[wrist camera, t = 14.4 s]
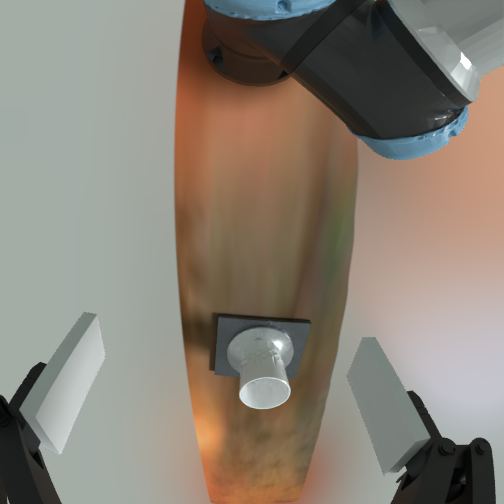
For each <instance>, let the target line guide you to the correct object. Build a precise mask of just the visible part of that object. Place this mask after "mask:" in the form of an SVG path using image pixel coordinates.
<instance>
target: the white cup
mask: <svg viewBox="0 0 504 504" xmlns="http://www.w3.org/2000/svg"><path fill="white" fill-rule="evenodd" d="M289 395H290V387H289V383H288V379H287V375H286V371H285V367H284V364H283V360H282V358H281V355H280V351H279V348H278V347H277V346H276V345H275V344H274V343H273V342H270V341H268V340H256V341H254V342H251V343H249V344H248V345H247V346H246V347H245V348H244V350H243V353H242V362H241V371H240V391H239V396H240V399H241V401H242V402H243V403H244V404H246V405H247V406H249V407H252V408H257V409H269V408H273V407H276V406H279V405H281V404H282V403H284V402H285V401H286V400H287V399H288V397H289Z"/></svg>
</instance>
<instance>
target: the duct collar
mask: <svg viewBox="0 0 504 504" xmlns="http://www.w3.org/2000/svg"><path fill="white" fill-rule="evenodd" d="M310 326H311V322H310V320H292V319H275V318H261V317H248V316H236V315H225V314H219V317H218V330H217V344H216V359H215V374H214V375H222V376H235V377H240V371H241V362H242V353H243V350H244V348H245V347H246V346H247V345H248V344H249V343H251V342H254V341H256V340H268V341H270V342H273V343H274V344H275V345H276V346H277V347H278V348H279V351H280V355H281V358H282V360H283V364H284V367H285V371H286V375H287V379H295V377H296V374H297V371H298V367H299V364H300V361H301V357H302V354H303V350H304V347H305V344H306V340H307V336H308V333H309V329H310Z"/></svg>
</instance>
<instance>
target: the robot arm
mask: <svg viewBox="0 0 504 504" xmlns="http://www.w3.org/2000/svg"><path fill="white" fill-rule="evenodd" d="M203 2H204V5H205V8H206V11H207V15H208V18H207V19H206V21H205V24H204V27H203V31H202V45H203V49H204V52H205V54H206V57H207V59H208V61H209V62H210V64H211V65H212V67H213V68H214V69H215V70H216V71H217V72H218V73H220V74H221V75H222V76H224V77H225V78H227V79H229V80H231V81H233V82H236V83H239V84H242V85H247V86H268V85H273V84H276V83H279V82H282V81H284V80H286V79H288V78H289V77H292V78H294V79H295V80H296V81H297V82H299V83H300V84H301V85H302V86H303V87H305V88H306V89H307V90H308V91H309V92H311V93H312V94H313V95H314V96H315V97H316V98H318V99H319V100H320V101H321V102H322V103H323V104H324V105H325V106H327V107H328V108H329V109H330V110H331V111H332V112H333V113H334V114H335V115H336V116H338V117H339V118H340V119H341V120H342V121H343V122H344V123H345V124H346V126H347V128H348V129H349V131H350V132H351V133H352V134H353V135H355V136H357V137H358V138H360V139H362V140H363V141H364V142H365V143H366V144H367V145H368V146H369V147H370V148H371V149H372V150H373V151H374V152H376V153H377V154H379V155H381V156H383V157H385V158H388V159H394V160H408V159H414V158H418V157H421V156H425V155H427V154H430V153H432V152H434V151H436V150H438V149H440V148H442V147H443V146H445V145H446V144H447V143H449V137H452V136H457V135H458V134H459V133H460V132H461V131H462V129H463V128H464V126H465V124H466V122H467V119H468V104H470V103H472V102H474V101H476V100H477V99H478V94H479V88H480V81H481V79H482V77H483V76H484V75H485V74H487V73H490V72H491V71H493V70H495V69H497V68H499V67H501V66H503V65H504V0H376V1H375V0H203ZM105 357H106V356H105V351H104V347H103V342H102V337H101V332H100V327H99V322H98V316H97V314H92V313H87V312H84V313H83V314H82V315H81V317H80V318H79V319H78V321H77V322H76V324H75V325H74V327H73V328H72V329H71V331H70V332H69V333H68V335H67V336H66V338H65V339H64V340H63V342H62V343H61V345H60V346H59V348H58V349H57V350H56V352H55V354H54V355H53V356H52V358H51V359H50V361H49V362H48V364H45V363H42V362H39V363H38V364H37V365H35V366H34V367H33V368H32V369H31V370H30V372H29V373H28V375H27V377H26V378H25V379H24V381H23V382H22V384H21V385H20V387H19V388H18V390H17V391H16V393H15V395H14V396H13V398H12V399H11V401H10V403H9V404H8V402H7V401H6V399H5V398H4V397H3V396H2V395H0V504H7V497H8V500H9V503H10V504H62V503H61V501H60V499H59V497H58V495H57V493H56V490H55V488H54V486H53V483H52V481H51V478H50V476H49V473H48V471H47V468H46V466H45V463H44V460H43V457H42V455H41V452H40V450H39V448H38V447H39V445H40V442H41V443H42V444H43V446H44V447H45V448H46V449H47V450H49V451H52V452H54V453H57V454H59V455H61V453H62V451H63V448H64V446H65V443H66V441H67V439H68V436H69V434H70V431H71V429H72V427H73V424H74V422H75V420H76V418H77V415H78V413H79V411H80V409H81V406H82V404H83V402H84V400H85V398H86V396H87V393H88V391H89V389H90V387H91V385H92V383H93V381H94V379H95V377H96V375H97V373H98V370H99V368H100V366H101V364H102V362H103V360H104V358H105ZM347 378H348V381H349V383H350V386H351V389H352V391H353V394H354V396H355V399H356V401H357V404H358V407H359V409H360V412H361V414H362V417H363V419H364V422H365V425H366V428H367V430H368V433H369V436H370V439H371V441H372V444H373V447H374V450H375V452H376V455H377V458H378V461H379V463H380V466H381V469H382V472H383V475H388V474H392V473H396V472H399V471H400V470H401V469H402V468H403V467H404V466H406V469H407V471H406V472H405V473H404V474H403V475H402V476H401V477H400V478H399V479H398V480H397V481H396V482H397V483H398V482H399V481H400V480H401V479H402V480H401V482H400V485H399V487H398V489H397V491H396V494H395V496H394V498H393V500H392V502H391V504H496V495H495V478H494V466H493V457H492V449H491V446H490V444H489V442H488V441H487V440H485V439H484V438H476V439H474V440H473V441H472V442H471V443H470V444H469V445H456V444H455V443H454V442H453V441H452V440H450V439H448V438H442V436H441V435H440V433H439V431H438V429H437V427H436V425H435V423H434V422H433V420H432V418H431V416H430V414H428V411H427V409H426V408H425V407H424V406H425V405H424V404H423V402H422V400H421V398H420V397H419V396H418V395H417V394H416V393H415V392H413V391H407V392H406V390H405V388H404V386H403V385H402V383H401V381H400V379H399V377H398V376H397V374H396V372H395V370H394V369H393V367H392V365H391V364H390V362H389V360H388V359H387V357H386V355H385V353H384V352H383V350H382V348H381V347H380V345H379V343H378V341H377V340H376V338H375V337H367V338H365V337H364V338H362V340H361V342H360V345H359V347H358V350H357V352H356V355H355V357H354V360H353V362H352V365H351V367H350V369H349V372H348V374H347ZM6 494H7V495H6Z"/></svg>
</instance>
